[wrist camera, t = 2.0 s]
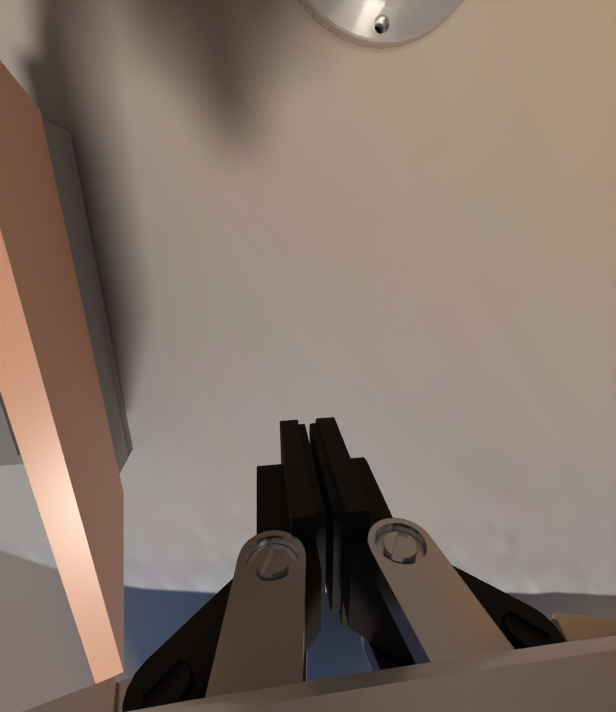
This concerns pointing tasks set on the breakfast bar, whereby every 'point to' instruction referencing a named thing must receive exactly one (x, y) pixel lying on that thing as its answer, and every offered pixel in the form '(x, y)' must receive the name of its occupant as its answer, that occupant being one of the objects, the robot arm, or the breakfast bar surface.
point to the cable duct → (82, 298)
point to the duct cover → (57, 385)
